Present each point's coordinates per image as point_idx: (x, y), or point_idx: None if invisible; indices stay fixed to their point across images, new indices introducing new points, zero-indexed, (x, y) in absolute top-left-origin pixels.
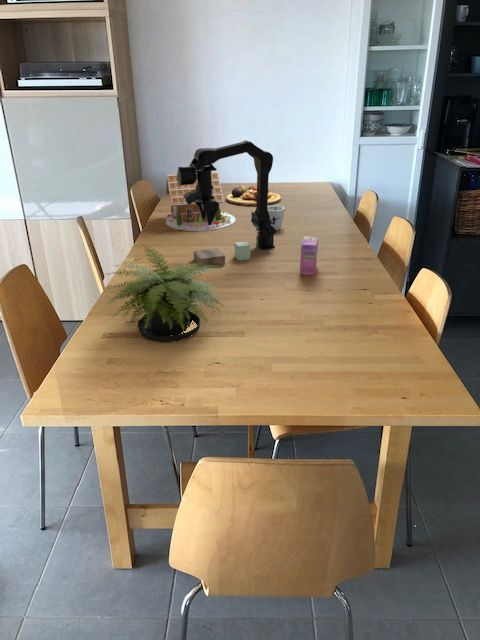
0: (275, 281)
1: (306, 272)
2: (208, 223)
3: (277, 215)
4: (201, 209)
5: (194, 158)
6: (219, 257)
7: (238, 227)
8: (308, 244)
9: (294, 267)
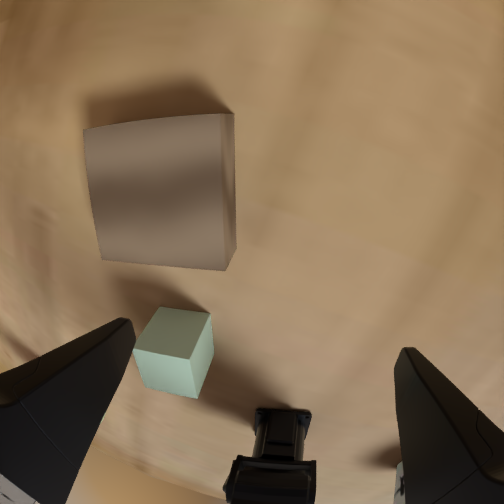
0: (17, 308)
1: None
2: (103, 326)
3: (395, 501)
4: (448, 450)
5: None
6: (99, 231)
7: (496, 403)
8: None
9: None
